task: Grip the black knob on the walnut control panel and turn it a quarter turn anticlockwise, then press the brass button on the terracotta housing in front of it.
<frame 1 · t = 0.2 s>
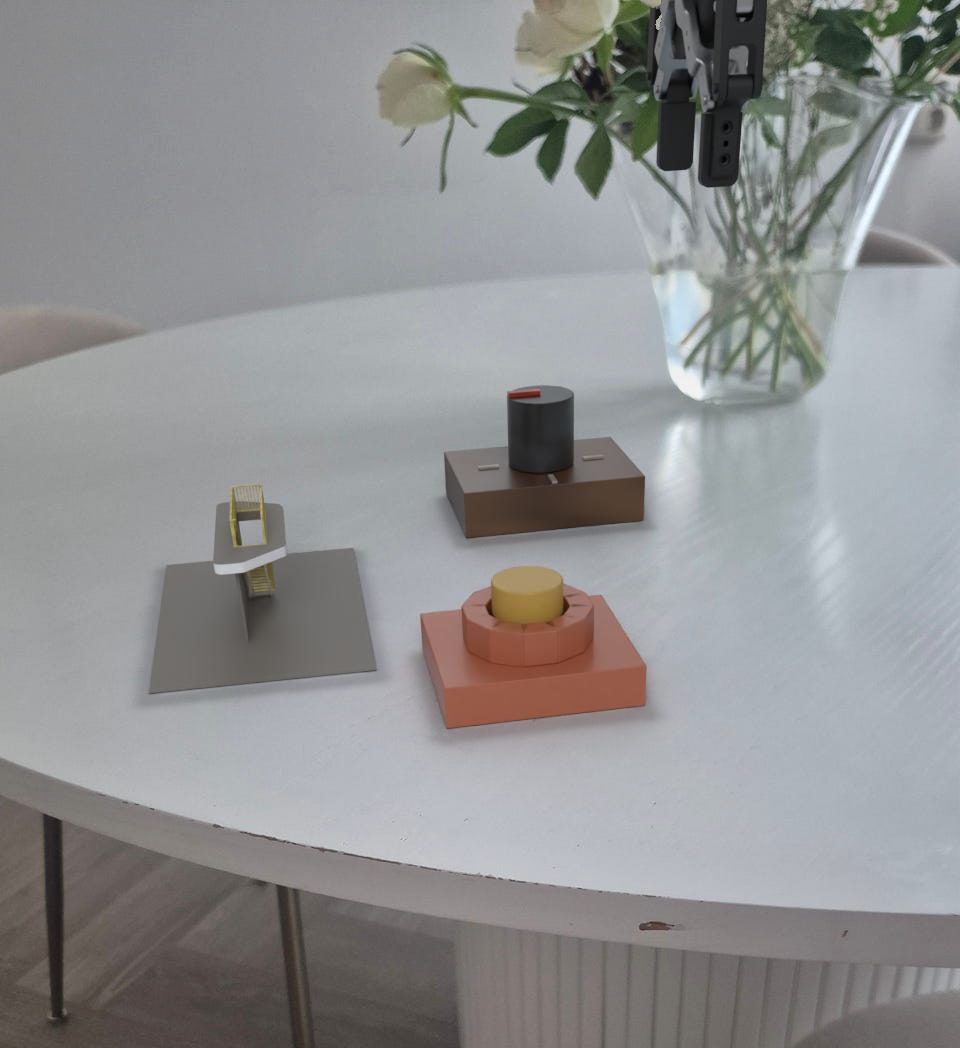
hand: (694, 177, 77), 20 cm above the table, tool pointing down, fingers open, 8 cm apart
dial knob: (540, 426, 84), point 5 cm above the table, hinge at 0.0°
platform: (262, 615, 74), on the table
start button: (527, 595, 63), point 5 cm above the table, slide at 0.2 cm
button box: (528, 676, 66), on the table
control panel: (541, 506, 87), on the table
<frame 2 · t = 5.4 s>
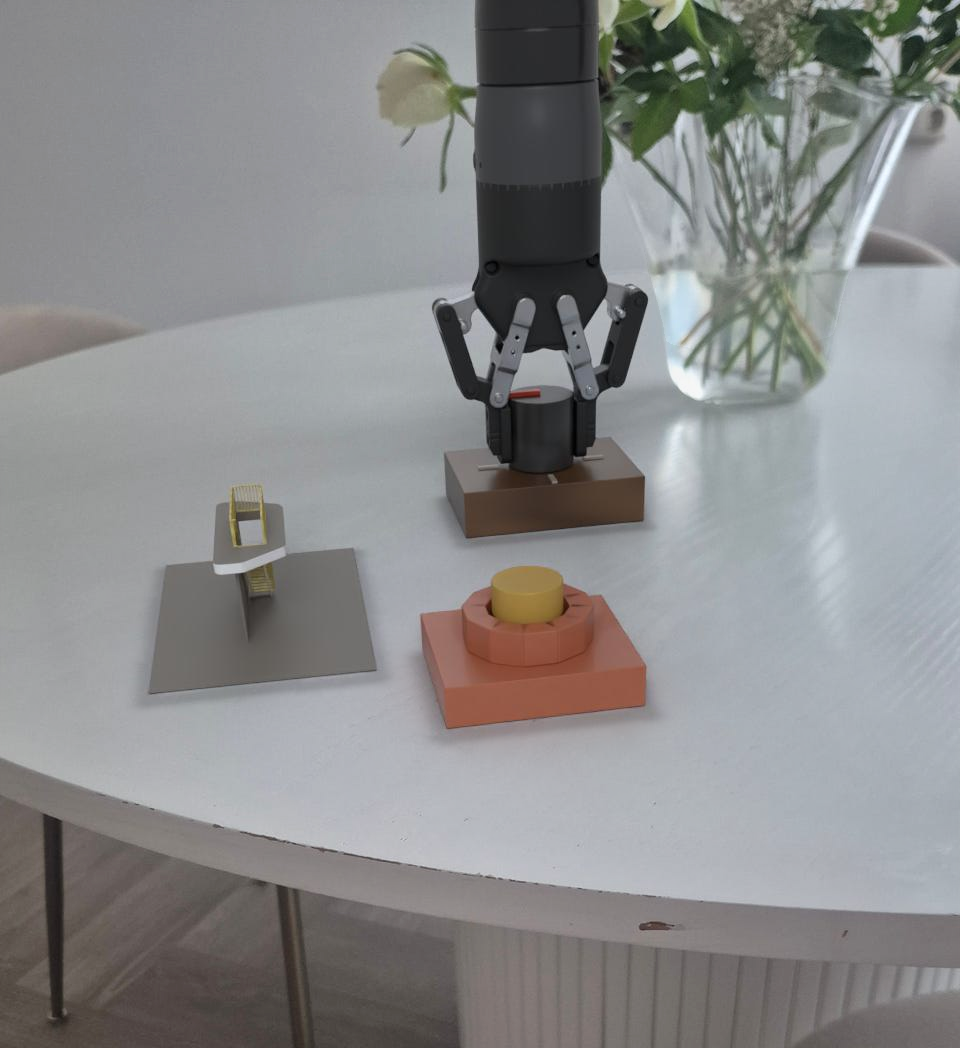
hand: (541, 455, 85), 4 cm above the table, tool pointing down, fingers closed on dial knob, 4 cm apart
dial knob: (540, 426, 84), point 5 cm above the table, hinge at -0.1°, touching gripper
everything else where it was.
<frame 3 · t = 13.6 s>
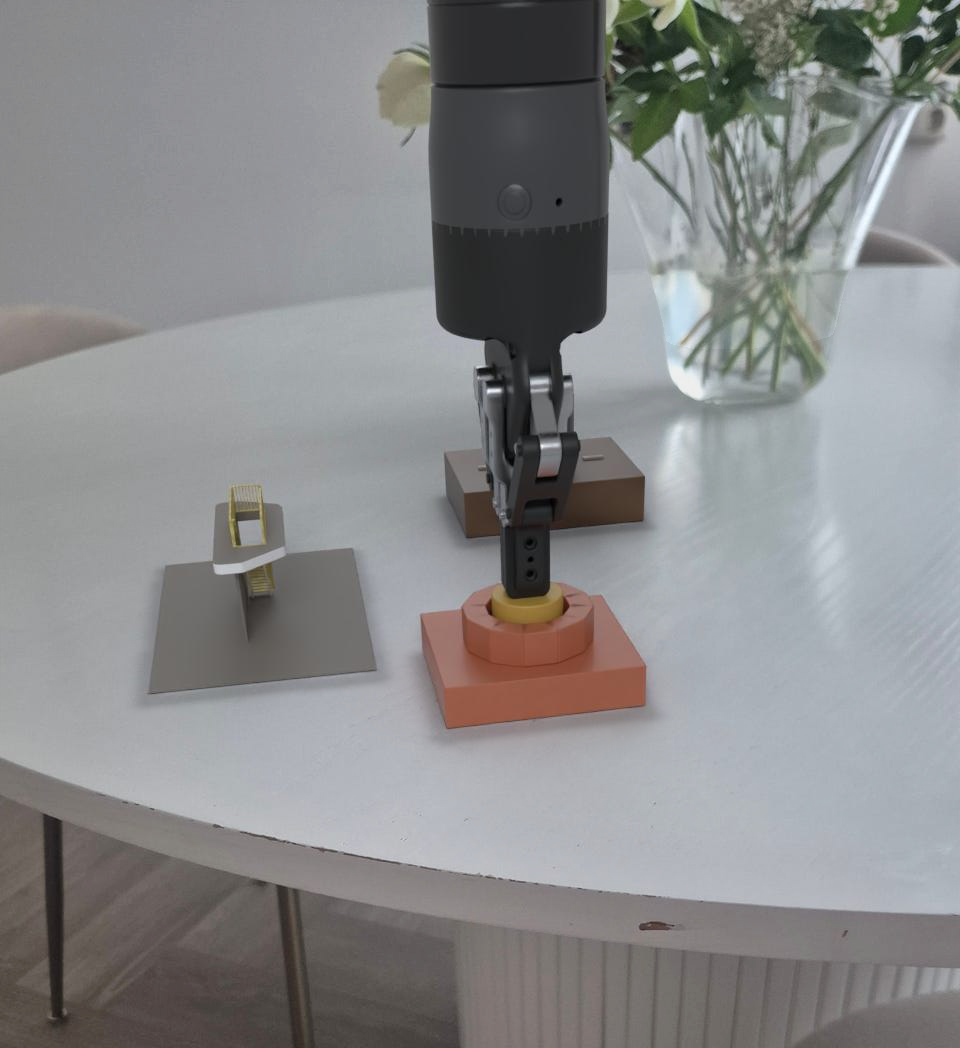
hand: (525, 591, 63), 5 cm above the table, tool pointing down, fingers closed
dial knob: (540, 426, 84), point 5 cm above the table, hinge at 92.1°
start button: (527, 608, 63), point 4 cm above the table, slide at -0.5 cm, touching gripper
everything else where it was.
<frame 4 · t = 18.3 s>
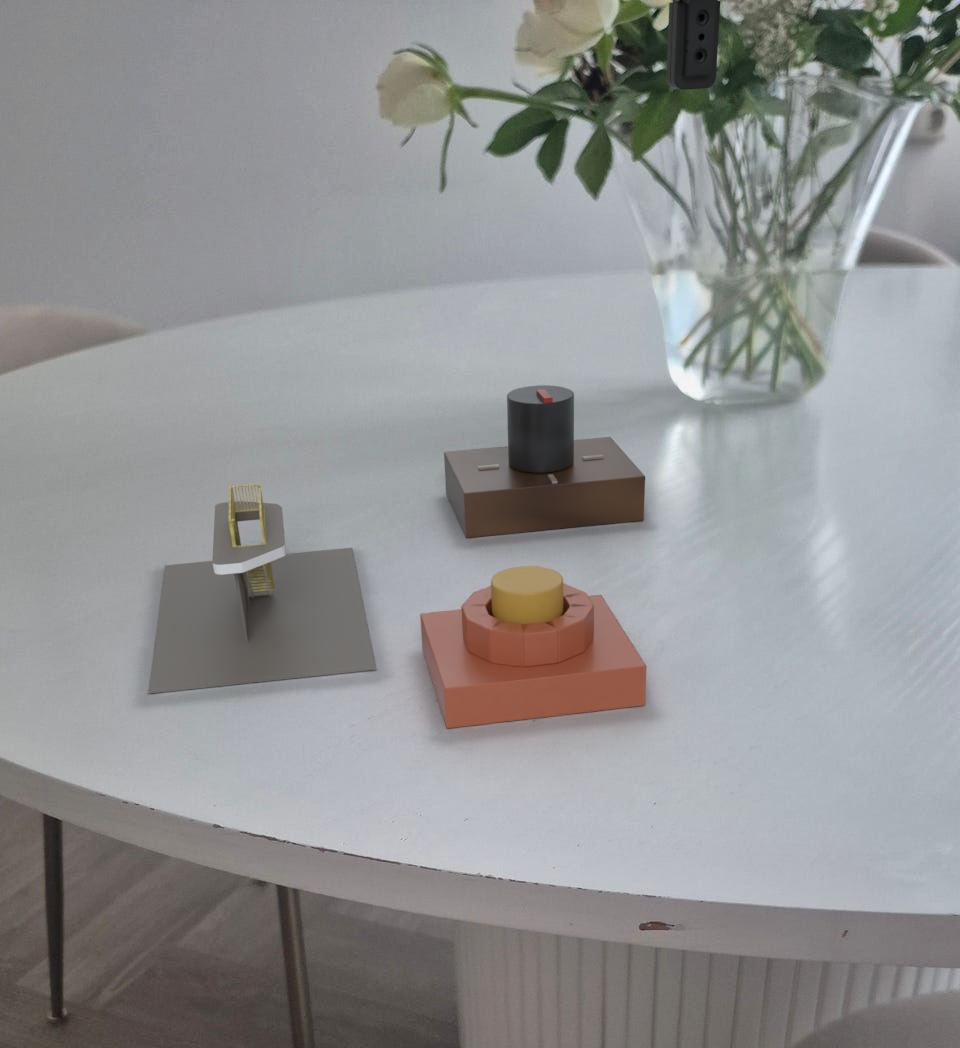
hand: (690, 87, 65), 25 cm above the table, tool pointing down, fingers closed
start button: (527, 595, 63), point 5 cm above the table, slide at 0.2 cm
everything else where it was.
at the end: dial knob at +92° (first picture: +0°); start button pushed in 1.1 cm at the most during the clip, back to 0.2 cm at the end; start button slide at 0.2 cm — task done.
